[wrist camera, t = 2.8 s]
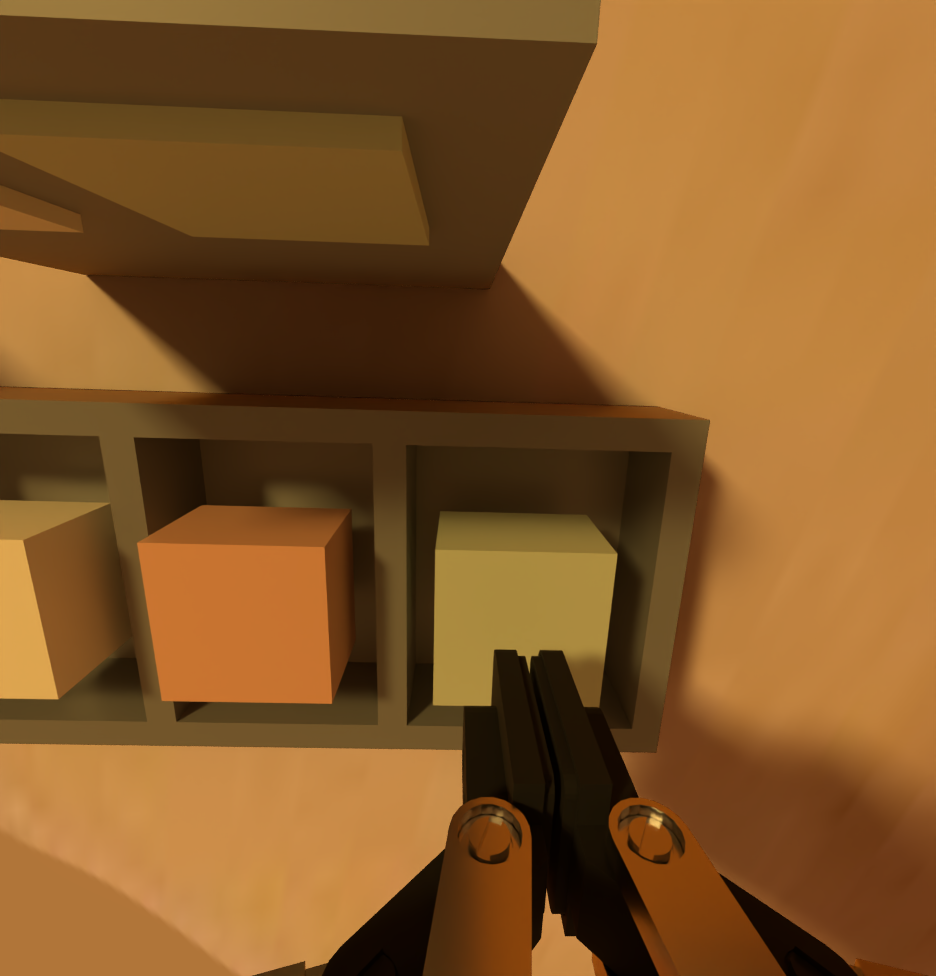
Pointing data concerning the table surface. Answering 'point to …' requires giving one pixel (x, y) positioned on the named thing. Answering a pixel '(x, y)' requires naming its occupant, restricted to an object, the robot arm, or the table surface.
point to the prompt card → (281, 134)
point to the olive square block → (519, 599)
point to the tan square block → (57, 595)
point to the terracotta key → (251, 603)
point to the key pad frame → (357, 540)
